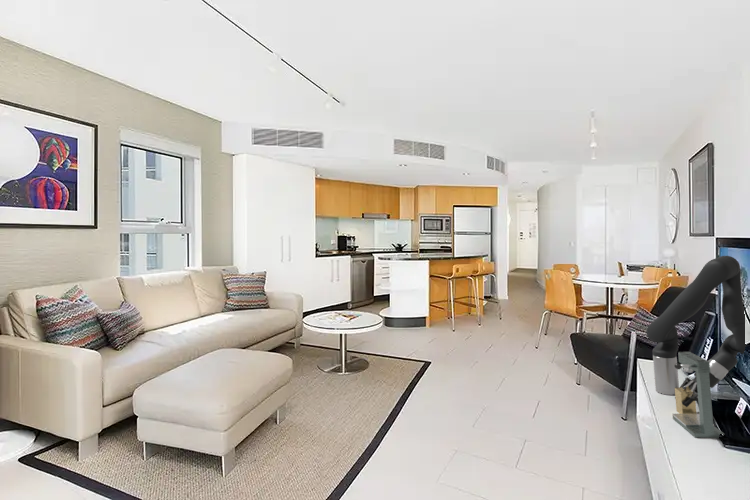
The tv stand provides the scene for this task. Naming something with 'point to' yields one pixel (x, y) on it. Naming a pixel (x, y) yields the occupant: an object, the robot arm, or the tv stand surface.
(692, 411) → the block
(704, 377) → the arbor press
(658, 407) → the tv stand surface
